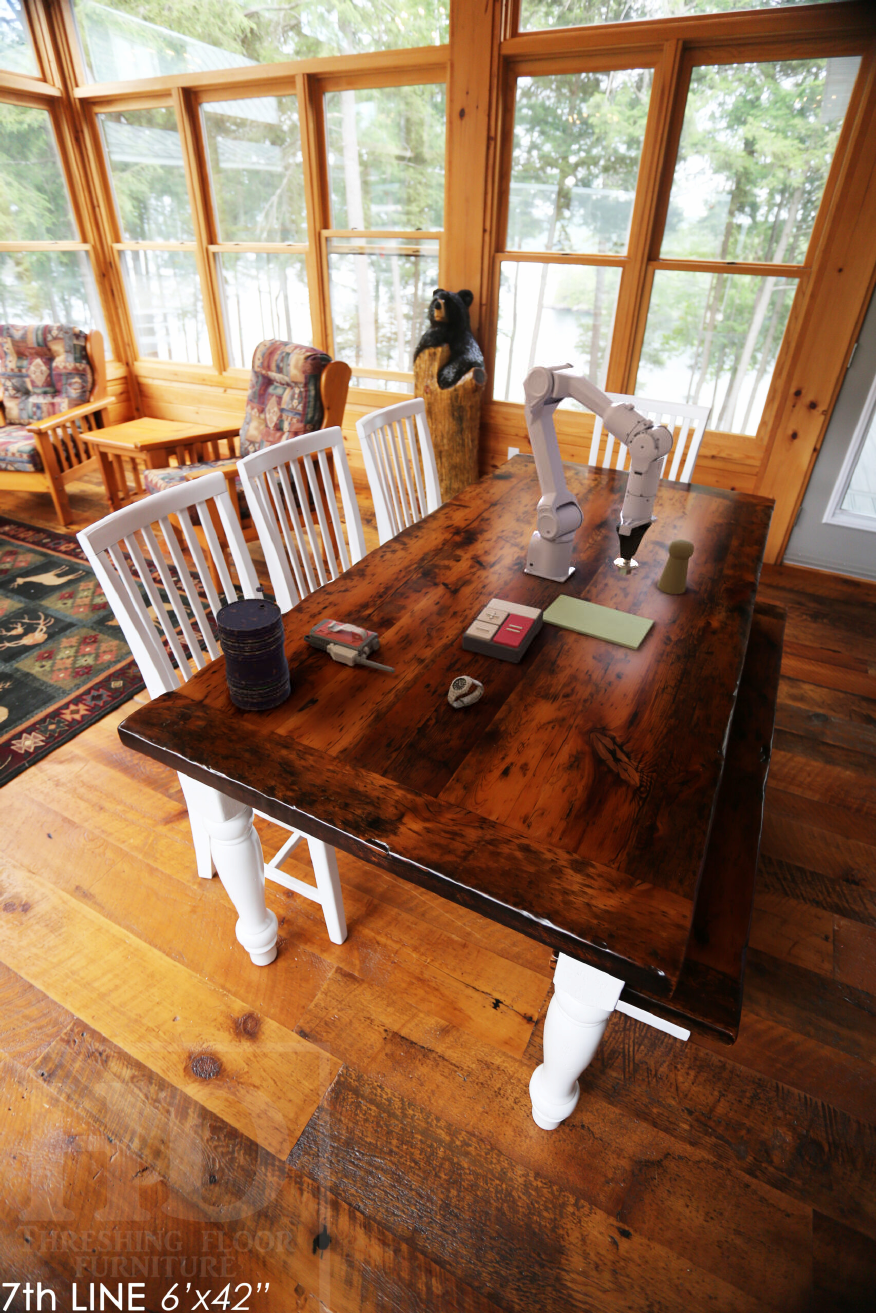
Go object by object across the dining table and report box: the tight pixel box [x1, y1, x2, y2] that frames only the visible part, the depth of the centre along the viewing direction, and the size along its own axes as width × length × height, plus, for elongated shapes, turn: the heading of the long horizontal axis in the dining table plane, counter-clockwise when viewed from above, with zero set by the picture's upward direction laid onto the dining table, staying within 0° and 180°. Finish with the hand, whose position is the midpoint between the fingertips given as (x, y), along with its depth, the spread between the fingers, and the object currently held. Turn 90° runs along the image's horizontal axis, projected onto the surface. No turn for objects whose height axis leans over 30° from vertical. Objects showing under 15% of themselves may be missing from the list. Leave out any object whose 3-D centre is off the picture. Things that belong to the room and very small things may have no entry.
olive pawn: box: [656, 538, 695, 595], centre depth 140 cm, size 6×6×11 cm
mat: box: [542, 594, 655, 651], centre depth 129 cm, size 20×12×1 cm, turn 59°
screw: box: [613, 526, 639, 576], centre depth 130 cm, size 13×5×5 cm
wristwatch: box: [447, 675, 485, 709], centre depth 104 cm, size 4×6×5 cm, turn 119°
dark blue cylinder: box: [215, 586, 291, 711], centre depth 102 cm, size 10×10×18 cm
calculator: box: [461, 598, 545, 664], centre depth 122 cm, size 11×4×15 cm
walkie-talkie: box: [302, 618, 396, 674], centre depth 116 cm, size 9×4×20 cm
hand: (627, 556), depth 132 cm, fingers closed on screw, 2 cm apart
